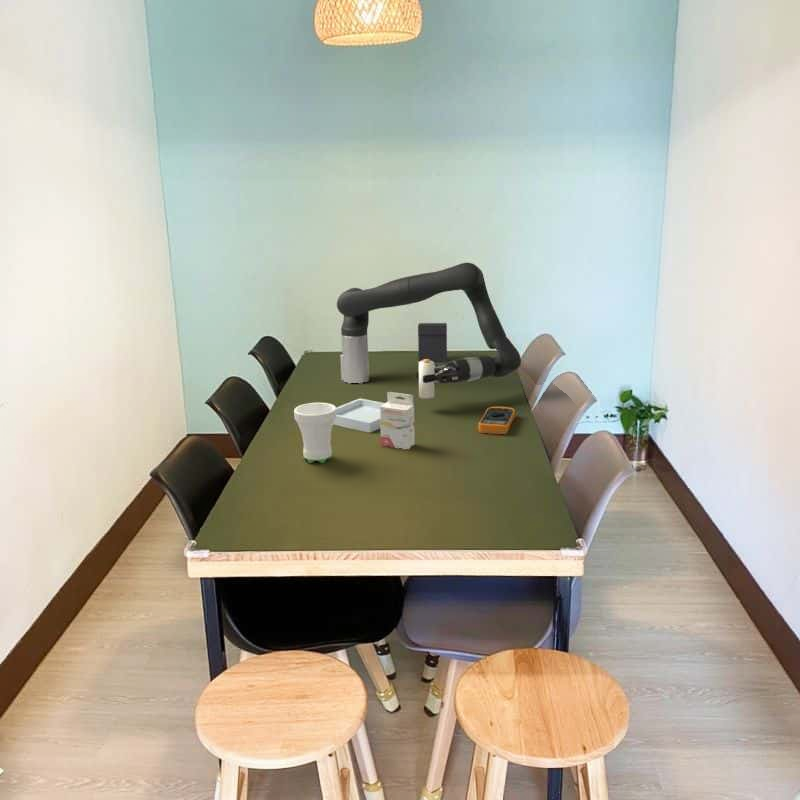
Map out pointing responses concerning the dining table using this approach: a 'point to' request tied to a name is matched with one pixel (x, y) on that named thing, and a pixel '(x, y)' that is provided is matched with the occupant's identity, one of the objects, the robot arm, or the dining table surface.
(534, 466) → the dining table surface
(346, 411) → the pale blue square tray
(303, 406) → the cup
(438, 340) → the dark grey box
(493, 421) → the multimeter
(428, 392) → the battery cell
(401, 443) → the ink cartridge box
